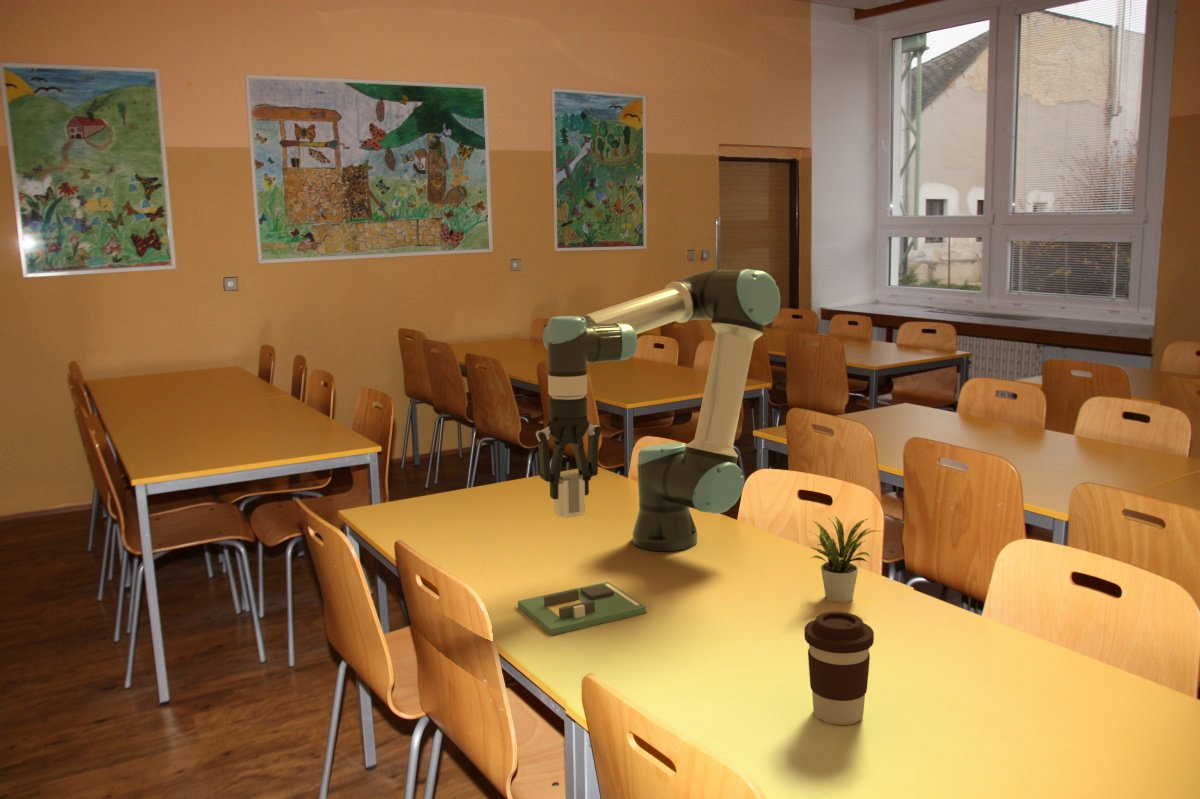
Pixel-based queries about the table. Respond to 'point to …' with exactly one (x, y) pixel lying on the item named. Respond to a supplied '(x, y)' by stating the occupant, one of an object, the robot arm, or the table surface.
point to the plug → (572, 494)
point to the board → (580, 607)
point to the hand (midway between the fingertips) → (569, 512)
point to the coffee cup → (838, 665)
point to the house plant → (840, 562)
